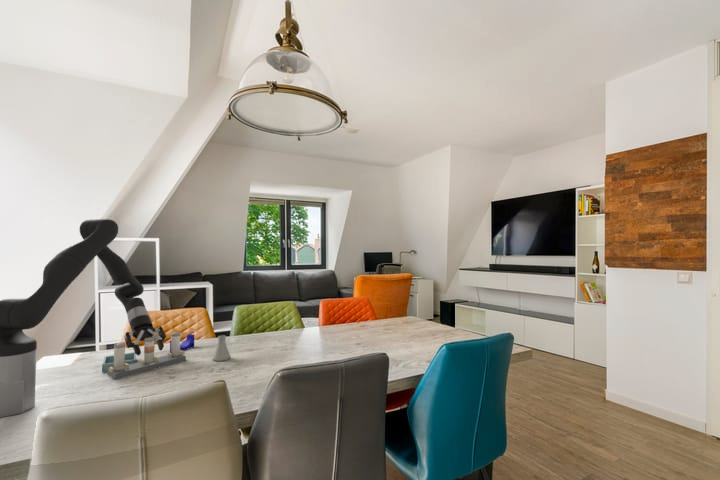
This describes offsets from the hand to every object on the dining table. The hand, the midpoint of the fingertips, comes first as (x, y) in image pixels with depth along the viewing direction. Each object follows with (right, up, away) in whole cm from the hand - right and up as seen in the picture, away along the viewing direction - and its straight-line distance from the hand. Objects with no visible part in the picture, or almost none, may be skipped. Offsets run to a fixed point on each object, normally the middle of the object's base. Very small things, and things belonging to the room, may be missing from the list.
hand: (150, 351), depth 136 cm
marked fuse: (-1, -5, +1) cm, 5 cm away
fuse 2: (+5, -5, +9) cm, 12 cm away
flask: (+24, -7, +11) cm, 28 cm away
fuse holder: (-1, -7, +1) cm, 7 cm away
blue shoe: (-1, -8, +25) cm, 26 cm away
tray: (-15, -7, +3) cm, 16 cm away
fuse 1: (-7, -4, -8) cm, 12 cm away
